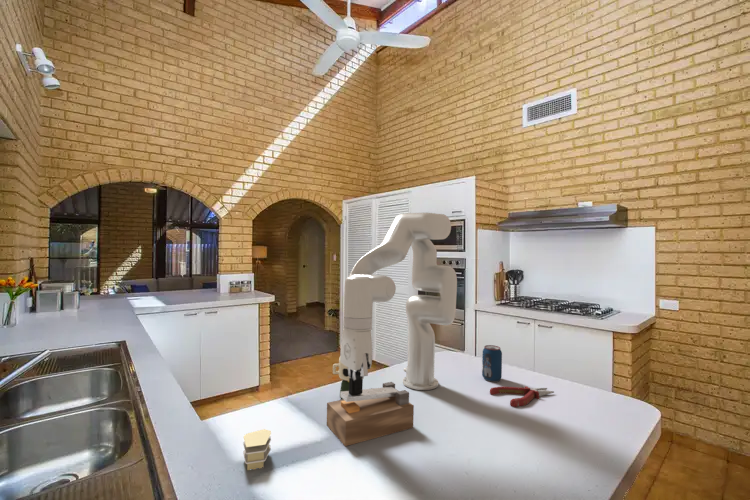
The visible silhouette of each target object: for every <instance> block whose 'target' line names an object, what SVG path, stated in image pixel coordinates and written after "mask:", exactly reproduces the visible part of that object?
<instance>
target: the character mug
mask: <svg viewBox="0 0 750 500" xmlns="http://www.w3.org/2000/svg"><path fill="white" fill-rule="evenodd" d="M338 358H339V359H338V363H334V364H333V365H332V374H333V375H338V376H339V378H340V380H342V381H341V384H340V390H339V394H340V393H341V392H342V391H349V376H348V367H347V366H345V365H344V364H342V363H341V361H340V357H338ZM337 367H338V370H337ZM339 398H340V400H343V398H342V397H340V396H339Z"/></svg>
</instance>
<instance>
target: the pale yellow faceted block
mask: <svg viewBox="0 0 750 500" xmlns="http://www.w3.org/2000/svg"><path fill="white" fill-rule="evenodd" d="M271 435H272V430H269V429H265V428H263V429H260V430H256V431H251V432H248V433H246V434H244V435H243V443H242V444H243V448H244V450H243V452H242V453H243V454H242V455H243V458H244V463H245V465H247V466H246V468H247V469H246V470H247V471H251V470H250V469H253V470H257V469H256V468H259V469H263V468H264V465H265V464H264V463H265V461H266V460H267V458H268V456H269V453H270V452H271V450H272V449H271V444H270V443H271V441H272V438H271V437H272V436H271ZM262 467H263V468H262Z"/></svg>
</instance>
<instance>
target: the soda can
mask: <svg viewBox="0 0 750 500" xmlns="http://www.w3.org/2000/svg"><path fill="white" fill-rule="evenodd" d="M483 347H484V348H483V349H482V358H481V359H482V360H481V362H482V365H481V366H482V367H481V368H482V369H481V375H482V377H483V379H484V380H485V381H487V382H491V383H497V382H498V383H499V382H500V380H501V379H502V376H503V374H502V373H503V371H502V370H503V367H502V366H503V365H502V363H503V359H502V358H503V352H502V350H501V347H500V346H498V345H492V344H488V345H484V346H483Z"/></svg>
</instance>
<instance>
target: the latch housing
mask: <svg viewBox="0 0 750 500" xmlns="http://www.w3.org/2000/svg"><path fill="white" fill-rule="evenodd" d="M391 386H392V387H393V388H395V389H396V383H394V382H393V381H389V382H382V388H385V387H391ZM414 407H415V406H414V404H412V403H411V402H410V392H409V391H407V390H406V389H403V390H398V392H396V397H387V398H378V399H369V400H360V401H351V402H346V401H345V400H344V399H340V400H333V401H329V402H327V403H326V426H327V427H328V429H330V431H331V432H332V433H333V434H334V435H335V436H336V437H337V438H338V440H340V442H341V444H343V445H344V447H347V446H351V445H355V444H359V443H363V442H365V441H366V442H367V441H370V440H375V439H377V438H381V437H385V436H388V435H392V434H395V433H398V432H399V433H400V432H402V431H407V430H411V429H414V414H415V413H414Z"/></svg>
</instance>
